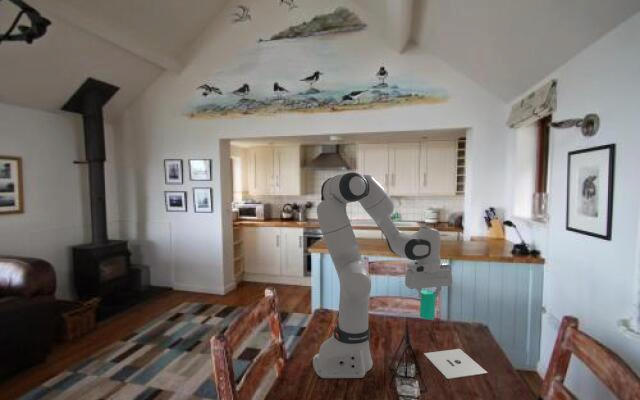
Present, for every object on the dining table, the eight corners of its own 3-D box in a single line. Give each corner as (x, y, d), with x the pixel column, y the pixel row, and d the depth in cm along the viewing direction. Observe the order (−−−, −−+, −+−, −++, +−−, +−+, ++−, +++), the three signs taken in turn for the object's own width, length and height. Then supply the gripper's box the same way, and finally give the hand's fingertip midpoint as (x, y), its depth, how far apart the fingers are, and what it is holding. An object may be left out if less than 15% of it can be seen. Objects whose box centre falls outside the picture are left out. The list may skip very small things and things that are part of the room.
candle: (435, 320, 131) (437, 292, 130) (420, 318, 132) (422, 290, 131) (433, 314, 137) (434, 287, 136) (418, 312, 138) (420, 286, 137)
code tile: (447, 379, 109) (447, 378, 109) (423, 354, 125) (423, 353, 125) (487, 373, 113) (487, 372, 112) (459, 349, 128) (459, 348, 128)
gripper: (447, 261, 138) (446, 292, 139) (403, 264, 134) (403, 296, 135) (455, 265, 132) (455, 297, 133) (410, 268, 128) (410, 301, 129)
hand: (428, 297), depth 134 cm, fingers closed on candle, 5 cm apart
